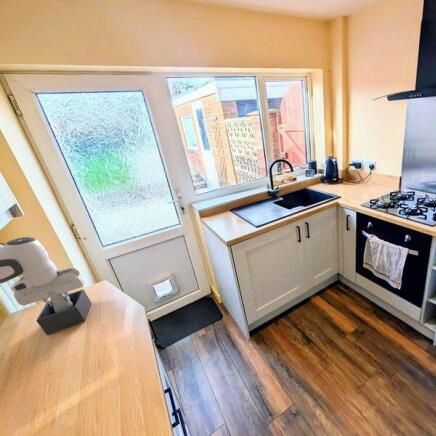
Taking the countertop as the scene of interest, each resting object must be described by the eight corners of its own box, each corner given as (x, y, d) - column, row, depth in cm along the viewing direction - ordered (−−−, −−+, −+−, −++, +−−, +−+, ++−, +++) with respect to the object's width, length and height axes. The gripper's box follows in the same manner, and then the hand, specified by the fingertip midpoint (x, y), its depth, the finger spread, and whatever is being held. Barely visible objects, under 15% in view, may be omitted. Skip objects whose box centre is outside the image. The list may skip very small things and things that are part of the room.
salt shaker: (74, 304, 106) (60, 280, 101) (76, 310, 103) (61, 286, 97) (57, 312, 103) (41, 288, 97) (58, 319, 99) (41, 294, 94)
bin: (46, 335, 97) (36, 320, 93) (57, 314, 107) (47, 300, 104) (85, 321, 101) (76, 307, 98) (91, 302, 112) (83, 289, 108)
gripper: (77, 262, 101) (92, 288, 107) (12, 280, 94) (32, 308, 99) (73, 270, 96) (89, 297, 102) (4, 290, 88) (25, 318, 94)
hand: (60, 302), depth 101 cm, fingers closed on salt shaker, 3 cm apart
